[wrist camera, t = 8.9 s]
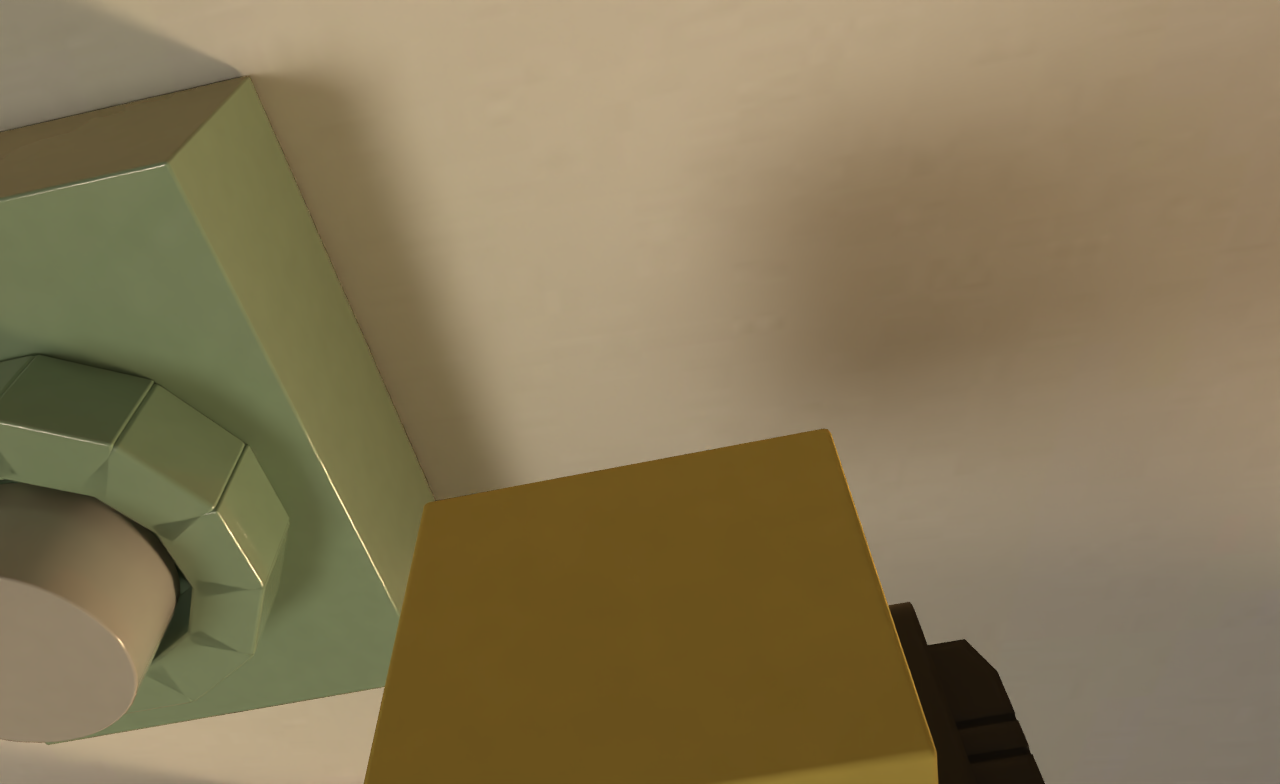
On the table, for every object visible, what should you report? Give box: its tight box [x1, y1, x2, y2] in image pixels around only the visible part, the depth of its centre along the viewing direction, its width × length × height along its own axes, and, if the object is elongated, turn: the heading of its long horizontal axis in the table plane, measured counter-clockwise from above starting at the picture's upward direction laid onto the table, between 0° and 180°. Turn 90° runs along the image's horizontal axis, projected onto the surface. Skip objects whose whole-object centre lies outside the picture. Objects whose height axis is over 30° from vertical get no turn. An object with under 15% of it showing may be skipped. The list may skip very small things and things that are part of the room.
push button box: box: [0, 76, 435, 745], centre depth 19 cm, size 12×9×6 cm
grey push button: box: [0, 483, 180, 743], centre depth 16 cm, size 4×4×2 cm
